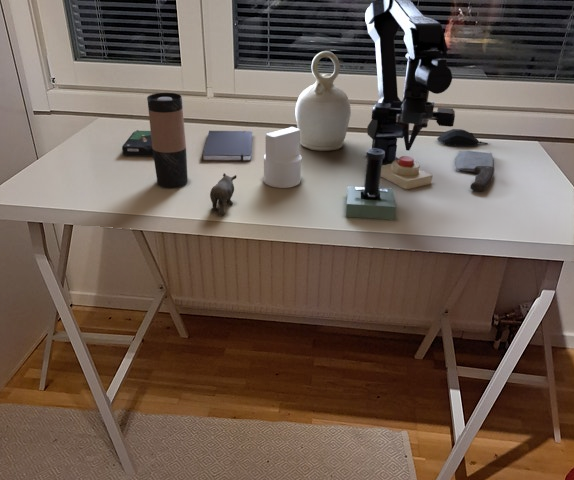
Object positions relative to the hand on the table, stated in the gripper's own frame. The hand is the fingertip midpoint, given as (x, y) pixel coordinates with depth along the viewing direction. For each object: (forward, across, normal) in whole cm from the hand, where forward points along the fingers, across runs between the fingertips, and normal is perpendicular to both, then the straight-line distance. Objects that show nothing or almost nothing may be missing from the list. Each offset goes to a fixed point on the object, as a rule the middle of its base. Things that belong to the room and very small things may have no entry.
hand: (407, 150), depth 134 cm
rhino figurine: (+8, -38, -26) cm, 47 cm away
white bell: (+8, -25, +20) cm, 33 cm away
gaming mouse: (+8, +15, +34) cm, 38 cm away
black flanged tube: (+7, -6, -20) cm, 22 cm away
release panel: (+7, 0, 0) cm, 7 cm away
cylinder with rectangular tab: (+8, -29, -10) cm, 31 cm away
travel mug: (+8, -54, -18) cm, 57 cm away
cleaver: (+8, +18, +11) cm, 22 cm away
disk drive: (+8, -70, +3) cm, 71 cm away
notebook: (+8, -49, +10) cm, 50 cm away
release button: (+4, 0, 0) cm, 4 cm away
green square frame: (+7, -6, -20) cm, 22 cm away
